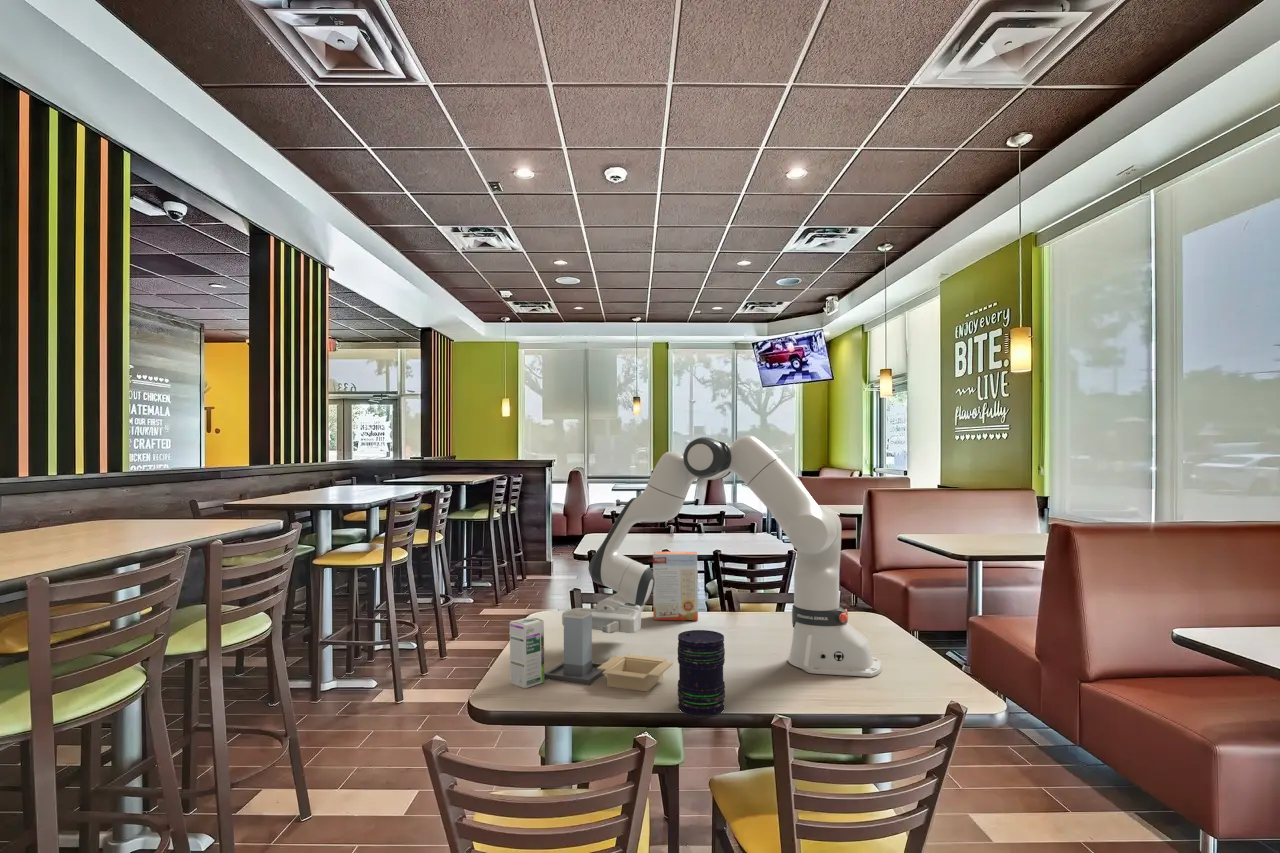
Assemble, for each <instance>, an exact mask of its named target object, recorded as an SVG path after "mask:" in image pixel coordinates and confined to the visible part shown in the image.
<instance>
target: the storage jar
mask: <svg viewBox="0 0 1280 853" xmlns="http://www.w3.org/2000/svg"><path fill="white" fill-rule="evenodd" d="M677 640H678V642H677V663H678V664H679V665H678V667H679V668H678V674H679V675H678V676H679V677H678V681H677V697H678V698H677V700H678V704H677V706H678V707H677V708H679V709H680V710H681V711H682V712H683V714H685V715H687V716H690V717H691V716H692V717H698V718H699V717H700V718H703V717H705V718H706V717H707V718H708V717H714V716H719V715H720V713H721V712H722V711H723V710H724V711H725V709H724V708H725V698H726V691H725V690H726V689H725V688H726V686H725V685H726V684H725V681H724V665H725V661H726V659H725V658H726V657H725V651H726V650H725V642H724V641H725V635H724V634H723V633H721V632H718V631H714V630H707V629H706V630H704V629H693V630H686V631H682V632H680V633H678V635H677ZM679 709H678V710H679ZM680 710H679V711H680ZM681 711H680V712H681ZM724 711H723V712H724ZM682 712H681V713H682ZM723 712H722V713H723ZM722 713H721V714H722Z"/></svg>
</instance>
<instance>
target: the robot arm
mask: <svg viewBox="0 0 1280 853" xmlns="http://www.w3.org/2000/svg"><path fill="white" fill-rule="evenodd" d="M731 473H733V474H736V476H737V477H739V478H740V479H741V480H742V481H743V483H744V484H745V485H746V486H747V487H748V488H749V489H750V491H752V492H753V494H754V495H755V496H756V497H757V498H758V499H759V501H760V502H762V504H763V505H764V506H765V507H766V508H767V510H768V511H769V512H770V513H771V515H772V517H773V518H774V520H775V521H776V523H777V524H778V525H779V527H780V528H781V530H782V531H783V533H784V534H785V535H786V537H787V538H788V539H789V542H790V544H791V545H792V546H793V548H794V549H795V550H797V551H796V557H795V559H796V560H795V566H794V567H795V568H794V570H793V572H794V573H793V600H794V601H793V605H792V609H791V624H792V628H793V632H792V639H791V647H790V650H789V655H788V658H787V661H788V663H789V664H790V665H792V666H794V667H797V668H798V669H802V670H803V671H805V672H806V673H809V674H817V675H832V676H833V675H834V676H835V675H837V676H851V677H852V676H855V677H869V678H870V677H875V676H877V675H879V674H880V673H881V671H882V669H883V667H882V662H881V660H880V659H879V658H877V657H875V656H873V653H872V647H871V644H870V642H869V640H868V638H867V637H865V635H864V634H862V633H861V632H859V630H858V629H856V628H854V626H852V625H851V624H850V623H848V622H849V615H848V614H849V613H848V610H847V609H848V608H845V609H844V608H843V607H841V606H840V566H841V565H840V564H841V553H842V552H841V551H842V520H841V519H840V517H839V514H837V512H835V510H833V508H830V507H829V506H825V505H821V504H820V505H819V504H818V503H817V502H816V501H815V500H814V498H813V496H811V494H810V493H809V491H808V490H807V489H806V487H805V485H804V484H803V482H802V481H801V480H800V478H799V477H798V476H797V475H796V474H795V473H794V472H793V471H792V470H791V469H790V467H789V466H787V465H786V463H785V462H784V461H783V460H782V459H781V458H780V457H779V456H778V455H777V454H776V453H775V451H773V450H772V449H771V448H770V447H769V446H767V445H766V443H764V442H763V441H761V440H760V439H759V438H757V437H756V436H754V435H750V434H747V435H743V436H740V437H739V438H737V439H735V441H733V442H732V443H729V444H728V443H727V442H724V441H721V440H719V439H717V438H712V437H708V436H707V437H706V436H705V437H704V436H702V437H698V438H695V439H693V440H691V441H690V442H689V443H688V445H686V447H685V449H684V451H683V452H680V451H676V450H671V451H670V450H669V451H667V452H665V453H663V454H662V455H661V457H660V458H659V460H658V461H657V463H656V465H655V466H654V469H653V471H652V473H651V475H650V478H649V480H648V482H647V484H646V486H645V488H644V490H643V491H642V493H641V494H639V496H637V497H632V498H631V499H629V500H628V501H627V503H626V504H625V505H624V507H623V508H622V510H621V511H620V513H619V515H617V518H616V519H615V521H614V523H613V525H612V526H611V528H610V529H609V532H608V533H607V535H606V536H605V538H604V540H603V541H602V544H601V545H600V547H598V549H597V550H596V551H595V553H594V555H593V556H592V558H591V560H590V562H589V564H588V566H587V567H588V574H589V575H590V578H591V580H592V582H594V583H596V584H599V585H601V586H603V587H607V588H609V589H611V590H613V591H615V592H616V593H614V594H613V595H611V596H608V597H606V598H603V599H602V600H600V601H599V602H597V603H596V605H595V606H594V608H587V607H574V608H571V609H568V610H565V611H563V612H562V615H561V625H562V626H563V627H564V617H563V614H565V613H568V612H570V611H572V610H581V611H592V630H595V631H601V632H602V633H606V634H614V633H625V634H626V633H627V634H634V633H636V632H639V631H640V630H641V626H642V612H643V611H644V609H645V607H646V604H647V603H648V602H649V600H650V598H651V596H652V595H653V588H654V584H655V581H654V576H653V569H651V567H650V566H647V565H645V564H643V563H642V562H638V561H637V560H634V559H632V558H631V557H628V556H625V554H622V553H620V552H619V549H620V547H621V545H622V543H623V541H624V540H625V538H626V536H627V534H628V533H629V531H630V530H631V528H632V527H633V526H634V525H636V524H637V523H664V522H668V521H671V520H673V519H675V517H677V516H678V515H679V513H680V511H681V509H682V508H683V506H684V503H685V500H686V498H687V495H688V493H689V489H690V487H691V485H692V484H693V482H695V481H696V480H697V479H703V480H708V481H715V480H722V479H725V478H727V476H729V475H730V474H731Z"/></svg>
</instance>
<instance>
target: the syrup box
mask: <svg viewBox="0 0 1280 853" xmlns="http://www.w3.org/2000/svg"><path fill="white" fill-rule="evenodd" d="M544 623H545V622H544V620H543V619H540V618H537V617H532V616H531V617H530V616H527V617H525V618H521V619H520V618H519V619H516V620H511V621H509V655H510V656H509V665H510V666H509V668H510V669H509V670H510V671H509V672H510V675H509V676H510V677H509V678H510V680H509V681H510V683H511V684H512V685H514V686H516V687H519V688H522V689H528V688H530V687H534V686H537V685H540V684H544V683H545V680H546V679H544V673H545V626H544V625H545V624H544Z"/></svg>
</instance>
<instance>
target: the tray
mask: <svg viewBox="0 0 1280 853" xmlns="http://www.w3.org/2000/svg"><path fill="white" fill-rule="evenodd" d="M563 663H564V661H562V662H561V663H559V664H557V665H556V666H554V667H552V668H550V669H549V670H547V671H546V672H545V671H544V679H545V680H548V679H550V680H549V681H555V682H556V681H557V682H564V683H569V684H570V683H572V684H577V685H584V686H585V685H586V686H590V685H592V684H593V683H594V682H596V681H597V680H599V679H600V678H602V677H603V676H604V675H605V674H602V672H604V671H605V670H599V669H597V668H598V667H599V666H601V665H602V664H603V663H599V662H592V670H591V671H590V672H588V673H587V674H585V675H584V676H578V675H571V674H564V672H563ZM591 683H592V684H591Z"/></svg>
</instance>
